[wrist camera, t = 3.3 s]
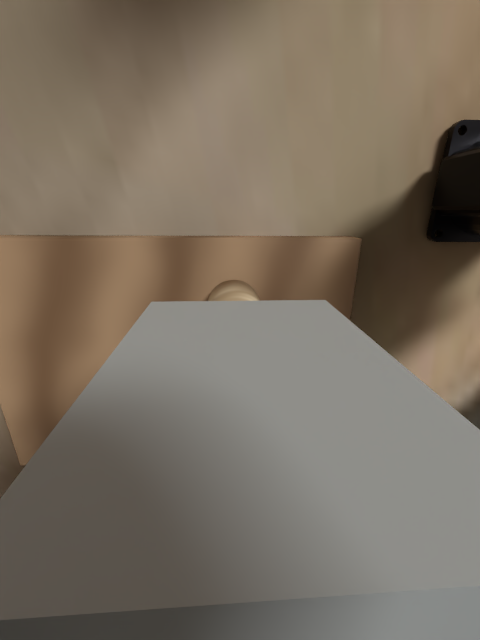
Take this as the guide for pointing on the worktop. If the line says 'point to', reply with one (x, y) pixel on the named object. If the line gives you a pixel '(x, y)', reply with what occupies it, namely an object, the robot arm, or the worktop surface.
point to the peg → (233, 292)
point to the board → (130, 302)
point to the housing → (247, 490)
